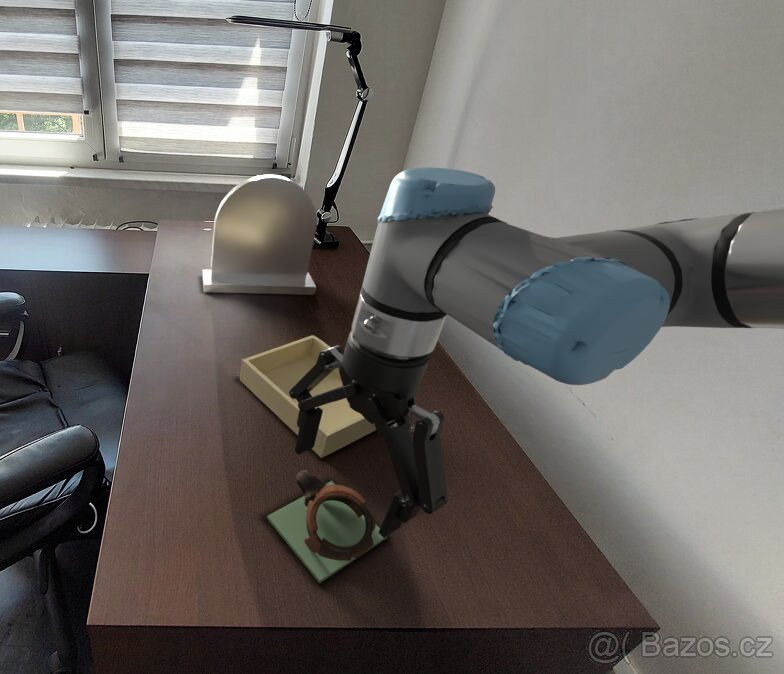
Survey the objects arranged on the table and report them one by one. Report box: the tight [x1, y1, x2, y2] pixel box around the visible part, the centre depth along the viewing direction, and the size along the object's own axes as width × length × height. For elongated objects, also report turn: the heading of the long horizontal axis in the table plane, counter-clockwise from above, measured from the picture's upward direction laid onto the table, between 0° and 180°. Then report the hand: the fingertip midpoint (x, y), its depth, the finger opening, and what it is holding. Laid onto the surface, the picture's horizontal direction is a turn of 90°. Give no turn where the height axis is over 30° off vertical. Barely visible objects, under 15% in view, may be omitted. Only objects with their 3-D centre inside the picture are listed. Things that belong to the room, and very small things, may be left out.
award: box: [201, 174, 318, 296], centre depth 111 cm, size 28×9×28 cm, turn 91°
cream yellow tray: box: [239, 334, 396, 459], centre depth 81 cm, size 22×18×5 cm
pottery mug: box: [295, 469, 377, 561], centre depth 59 cm, size 12×10×8 cm
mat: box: [266, 480, 388, 584], centre depth 61 cm, size 10×12×1 cm
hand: (342, 486), depth 55 cm, fingers open, 13 cm apart
